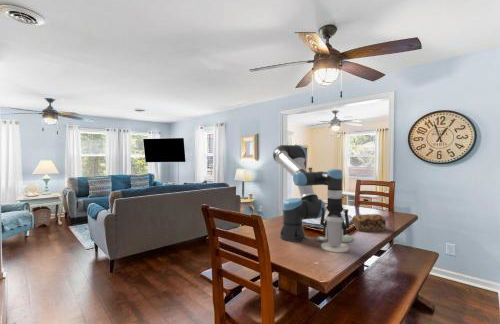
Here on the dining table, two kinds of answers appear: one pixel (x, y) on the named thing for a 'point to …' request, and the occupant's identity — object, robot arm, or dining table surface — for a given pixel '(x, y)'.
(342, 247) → the coaster cream
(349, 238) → the coaster sage
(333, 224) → the coffee cup
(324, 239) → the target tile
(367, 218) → the bread
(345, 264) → the dining table surface
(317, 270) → the dining table surface
